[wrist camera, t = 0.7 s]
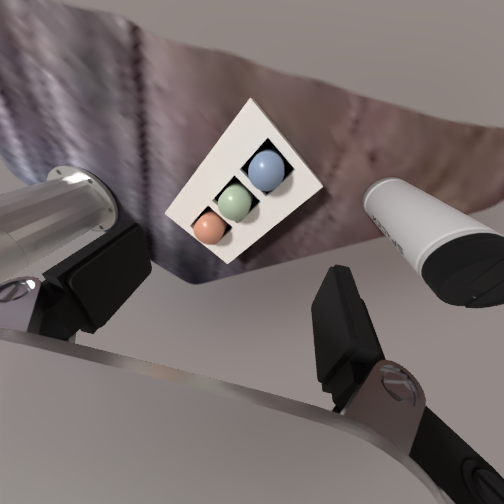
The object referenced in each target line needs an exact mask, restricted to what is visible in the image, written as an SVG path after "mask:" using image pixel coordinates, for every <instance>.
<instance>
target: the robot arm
mask: <svg viewBox="0 0 504 504" xmlns="http://www.w3.org/2000/svg"><path fill="white" fill-rule="evenodd" d="M117 219H118V208H117V204H116V202H115V199H114V198H113V196H112V194H111V192H110V191H109V190H108V189H107V187H106V186H105V185H104V184H103V183H102V182H101V181H100V180H99V179H98V178H96V177H95V176H94V175H92V174H91V173H89V172H88V171H86V170H84V169H81V168H79V167H75V166H70V165H65V166H60V167H56V168H54V169H53V170H51V171H50V173H49V174H48V178H47V181H45V182H42V183H38V184H35V185H31V186H27V187H24V188H20V189H16V190H13V191H9V192H6V193H2V194H0V504H504V479H503V478H502V477H501V476H500V474H499V473H498V472H496V470H495V469H494V468H493V467H492V466H491V465H489V463H487V462H486V461H485V460H484V459H483V458H482V457H481V456H480V455H479V454H478V453H477V452H475V451H474V450H473V449H472V448H471V447H470V446H469V445H468V444H467V443H466V442H465V441H464V440H463V439H461V438H460V437H459V436H458V435H457V434H456V433H455V432H454V431H453V430H452V429H451V428H450V427H448V426H447V425H446V424H445V423H444V422H443V421H442V420H441V419H440V418H439V417H438V416H437V415H436V414H434V413H433V412H432V411H431V410H430V409H429V408H428V407H427V406H426V405H425V404H426V398H425V394H424V391H423V389H422V387H421V386H420V384H419V382H418V381H417V380H416V378H415V377H414V376H413V375H412V374H411V373H410V372H409V371H408V370H407V369H406V368H404V367H403V366H401V365H400V364H398V363H396V362H393V361H389V360H386V359H385V357H384V354H383V351H382V348H381V346H380V343H379V340H378V337H377V335H376V332H375V329H374V327H373V324H372V321H371V319H370V316H369V314H368V310H367V308H366V305H365V303H364V301H363V300H362V299H361V298H360V295H359V293H358V290H357V287H356V284H355V281H354V279H353V276H352V273H351V270H350V268H349V267H346V266H341V265H335V266H334V267H330V268H329V270H328V272H327V274H326V276H325V278H324V280H323V282H322V285H321V287H320V289H319V291H318V293H317V295H316V297H315V299H314V301H313V303H312V308H311V312H312V321H313V322H312V323H313V334H314V346H315V357H316V368H317V378H318V381H319V382H320V383H322V390H323V392H327V393H331V394H332V399H333V402H334V403H335V404H334V405H333V407H332V408H331V409H330V411H329V410H326V409H323V408H320V407H317V406H314V405H310V404H307V403H303V402H300V401H296V400H292V399H289V398H285V397H282V396H278V395H274V394H271V393H267V392H263V391H259V390H255V389H252V388H248V387H244V386H240V385H236V384H232V383H228V382H225V381H221V380H217V379H213V378H209V377H205V376H201V375H198V374H194V373H190V372H186V371H182V370H178V369H174V368H170V367H166V366H162V365H158V364H154V363H151V362H147V361H143V360H138V359H135V358H131V357H127V356H122V355H119V354H115V353H111V352H107V351H103V350H99V349H95V348H91V347H87V346H82V345H79V344H75V337H76V332H77V331H78V330H79V329H81V331H83V332H87V333H91V334H94V333H95V332H96V330H97V329H98V328H100V327H102V326H104V325H105V324H106V322H107V321H108V320H109V319H110V318H111V317H112V316H113V315H114V314H115V312H116V311H117V310H118V309H119V308H120V307H121V306H122V304H123V303H124V302H125V301H126V300H127V299H128V298H129V297H130V296H131V295H132V293H133V292H134V291H135V290H136V289H137V288H138V287H139V286H140V284H141V283H142V282H143V281H144V280H145V279H146V278H147V276H148V275H149V274H150V273H151V270H152V266H151V262H150V258H149V253H148V249H147V245H146V240H145V236H144V232H143V229H142V227H140V225H139V224H138V223H134V222H129V221H124V222H122V223H121V224H119V225H117V226H116V227H114V228H113V229H111V230H110V231H108V232H107V233H105V234H103V235H102V236H100V237H99V238H97V239H96V240H94V241H93V242H91V243H89V244H88V245H86V246H85V247H83V248H82V249H80V250H78V251H77V252H75V253H74V254H72V255H71V256H69V257H68V258H66V259H64V260H63V261H61V262H60V263H58V264H57V265H55V266H53V267H52V268H50V269H49V270H47V271H46V272H44V273H43V274H42V275H43V276H44V278H45V279H46V280H45V281H43V282H41V281H40V280H39V279H38V278H35V277H28V276H26V277H18V278H15V279H11V280H8V281H5V280H7V279H8V278H10V277H12V276H14V275H15V274H17V273H19V272H20V271H22V270H24V269H25V268H27V267H28V266H30V265H32V264H33V263H35V262H37V261H38V260H40V259H42V258H44V257H45V256H47V255H49V254H50V253H52V252H53V251H55V250H57V249H59V248H60V247H62V246H64V245H65V244H67V243H69V242H70V241H72V240H74V239H76V238H77V237H79V236H81V235H82V234H84V233H86V232H87V231H89V230H93V231H105V230H108V229H109V228H111V227H112V226H114V225H115V223H116V222H117ZM4 281H5V282H4Z"/></svg>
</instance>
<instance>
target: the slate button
mask: <svg viewBox="0 0 504 504" xmlns="http://www.w3.org/2000/svg"><path fill="white" fill-rule="evenodd" d="M248 176H249V179H250V182H251V183H252V185H253V186H254V187H255V188H257V189H259V190H261V191H271V190H273V189H275V188H277V187H278V186H279V185H280V184H281V182H282V180H283V177H284V160H283V158H282V156H281V155H280V153H279V152H277V151H276V150H273V149H264V150H262V151H260V152H258V153H257V155H256V156H255V157H254V159H253V160H252V162H251V163H250V166H249V169H248Z"/></svg>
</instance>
